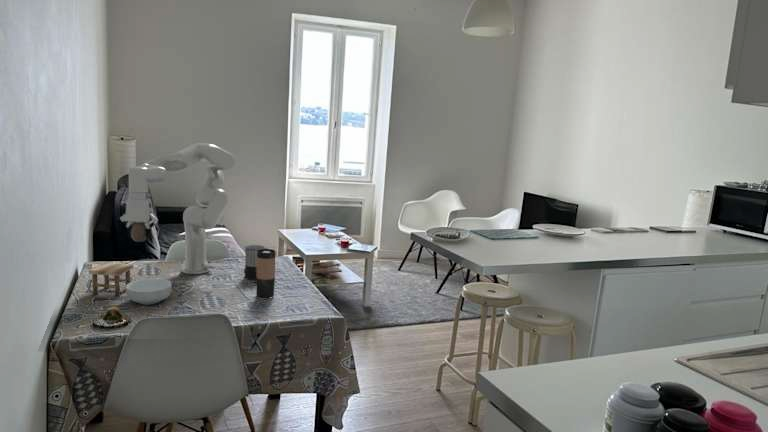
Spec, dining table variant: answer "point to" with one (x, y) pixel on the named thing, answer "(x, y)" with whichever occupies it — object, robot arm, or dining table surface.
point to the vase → (138, 232)
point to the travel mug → (265, 273)
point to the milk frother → (251, 260)
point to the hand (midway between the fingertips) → (139, 236)
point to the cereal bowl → (148, 290)
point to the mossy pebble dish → (112, 317)
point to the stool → (108, 270)
